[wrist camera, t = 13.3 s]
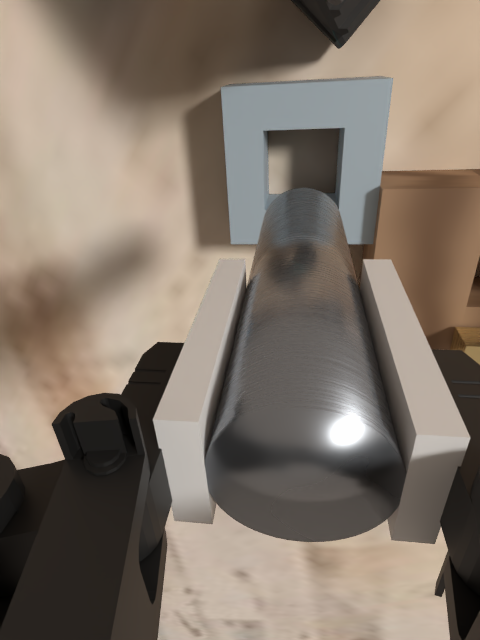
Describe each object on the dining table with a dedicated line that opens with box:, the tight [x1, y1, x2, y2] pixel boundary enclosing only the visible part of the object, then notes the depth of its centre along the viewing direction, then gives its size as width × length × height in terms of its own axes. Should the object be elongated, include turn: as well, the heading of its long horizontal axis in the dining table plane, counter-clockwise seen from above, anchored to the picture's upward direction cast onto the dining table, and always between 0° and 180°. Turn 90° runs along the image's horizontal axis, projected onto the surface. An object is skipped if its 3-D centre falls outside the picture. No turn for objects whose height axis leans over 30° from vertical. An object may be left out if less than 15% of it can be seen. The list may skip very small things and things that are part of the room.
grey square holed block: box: [221, 76, 393, 244], centre depth 29 cm, size 10×10×4 cm
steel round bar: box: [205, 188, 406, 542], centre depth 13 cm, size 3×3×13 cm
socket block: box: [359, 169, 480, 350], centre depth 30 cm, size 14×12×5 cm
